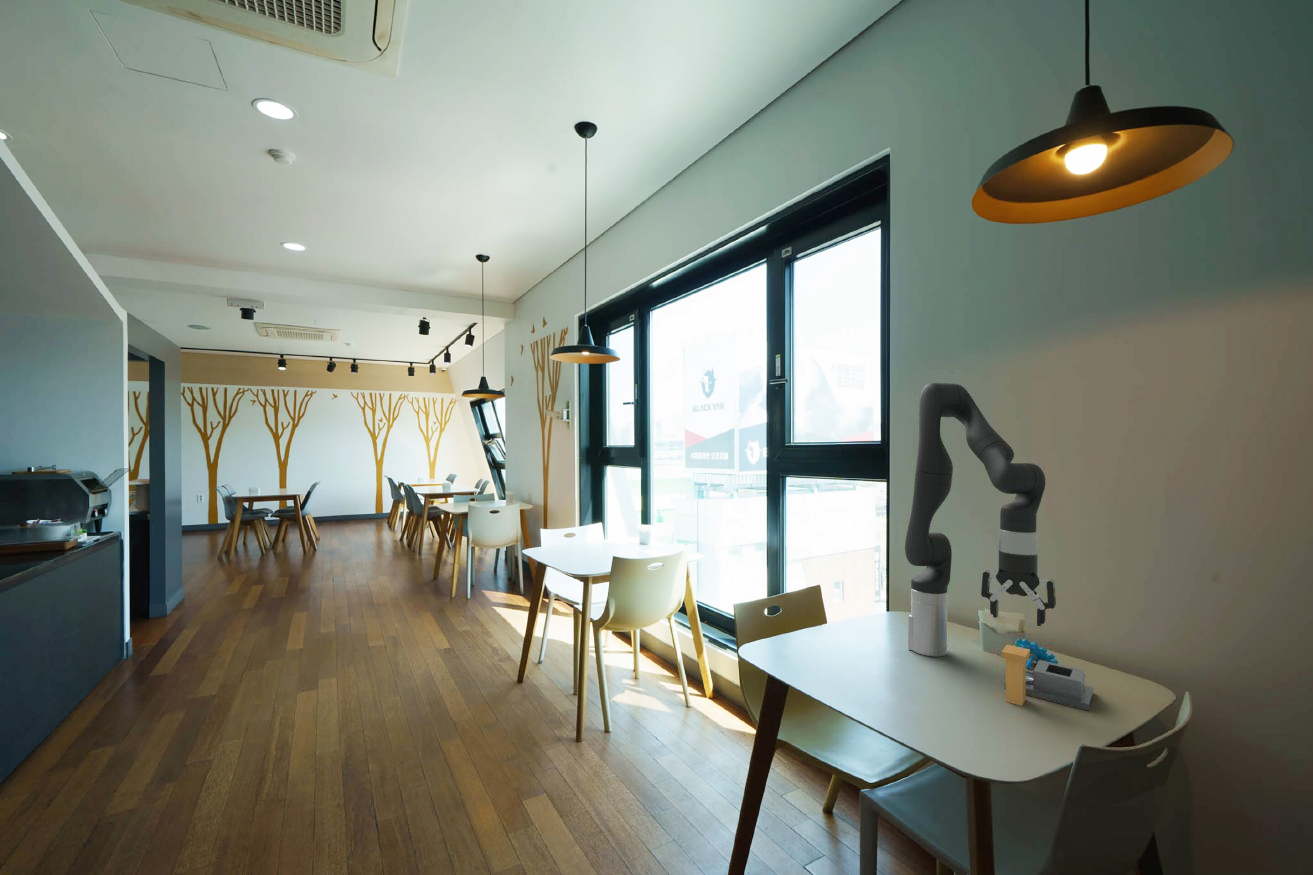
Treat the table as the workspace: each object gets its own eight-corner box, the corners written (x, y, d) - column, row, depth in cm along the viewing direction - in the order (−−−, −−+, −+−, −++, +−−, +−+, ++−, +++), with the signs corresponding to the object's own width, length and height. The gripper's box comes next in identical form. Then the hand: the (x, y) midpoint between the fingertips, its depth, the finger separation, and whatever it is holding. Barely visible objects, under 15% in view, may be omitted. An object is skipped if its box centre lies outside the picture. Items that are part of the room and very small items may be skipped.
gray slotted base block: (1004, 689, 135) (1004, 666, 135) (1014, 674, 144) (1014, 652, 144) (1088, 710, 124) (1089, 685, 125) (1093, 693, 133) (1093, 669, 134)
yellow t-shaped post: (1001, 701, 129) (1001, 651, 129) (1006, 692, 133) (1006, 644, 133) (1025, 708, 126) (1025, 656, 126) (1029, 699, 130) (1030, 649, 130)
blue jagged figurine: (1067, 666, 145) (1042, 640, 144) (1057, 685, 143) (1031, 658, 143) (1029, 656, 156) (1006, 632, 155) (1019, 674, 154) (995, 649, 153)
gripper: (979, 548, 131) (978, 618, 131) (1053, 557, 122) (1053, 632, 122) (986, 544, 137) (985, 611, 137) (1057, 552, 128) (1057, 624, 128)
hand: (1017, 620), depth 129 cm, fingers open, 8 cm apart
